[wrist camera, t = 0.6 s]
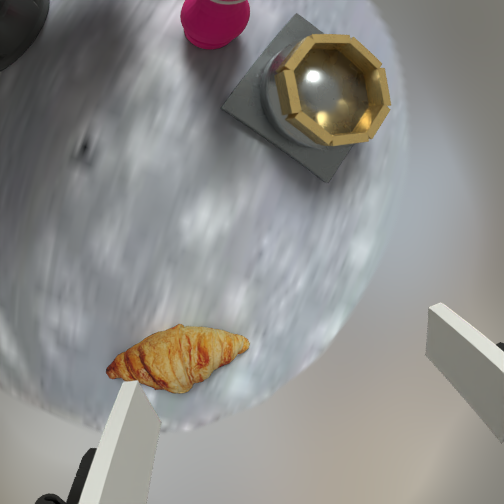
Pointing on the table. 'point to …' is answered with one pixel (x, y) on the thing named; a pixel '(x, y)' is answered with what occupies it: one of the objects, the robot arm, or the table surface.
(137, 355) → the croissant
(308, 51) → the silver and gold bowl
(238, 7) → the pepper mill
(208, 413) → the table surface
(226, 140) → the table surface
